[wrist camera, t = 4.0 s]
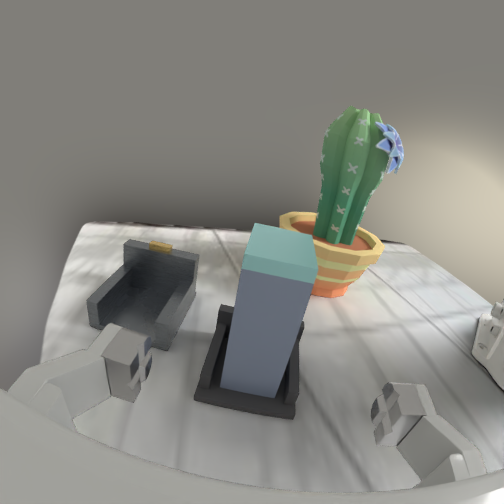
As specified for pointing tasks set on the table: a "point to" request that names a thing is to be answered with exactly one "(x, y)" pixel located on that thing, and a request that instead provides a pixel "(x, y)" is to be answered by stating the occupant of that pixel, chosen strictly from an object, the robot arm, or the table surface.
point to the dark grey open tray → (242, 401)
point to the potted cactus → (347, 198)
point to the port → (147, 292)
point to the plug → (268, 308)
